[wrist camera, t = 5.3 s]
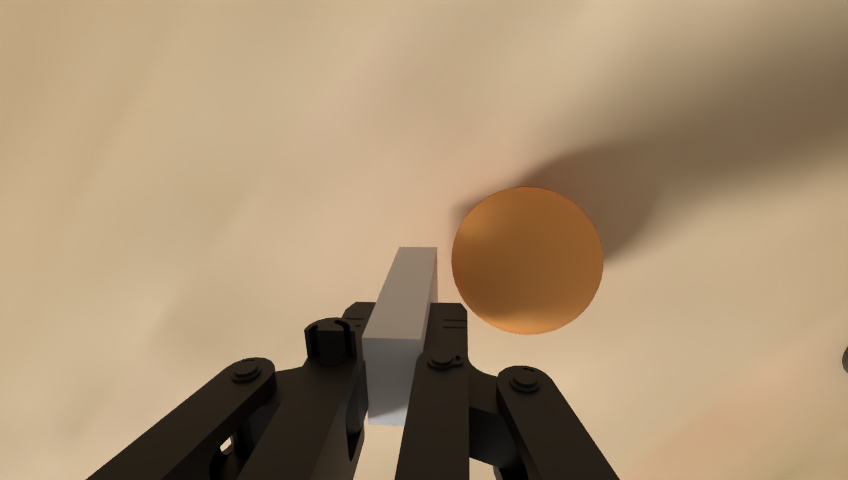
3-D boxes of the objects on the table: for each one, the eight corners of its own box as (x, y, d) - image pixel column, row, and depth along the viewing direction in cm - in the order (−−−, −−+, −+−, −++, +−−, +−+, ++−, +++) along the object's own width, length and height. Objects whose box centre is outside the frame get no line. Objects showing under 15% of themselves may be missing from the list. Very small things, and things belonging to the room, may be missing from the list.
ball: (455, 292, 20) (452, 366, 15) (450, 176, 18) (445, 214, 13) (576, 290, 19) (618, 366, 14) (584, 170, 17) (636, 207, 12)
